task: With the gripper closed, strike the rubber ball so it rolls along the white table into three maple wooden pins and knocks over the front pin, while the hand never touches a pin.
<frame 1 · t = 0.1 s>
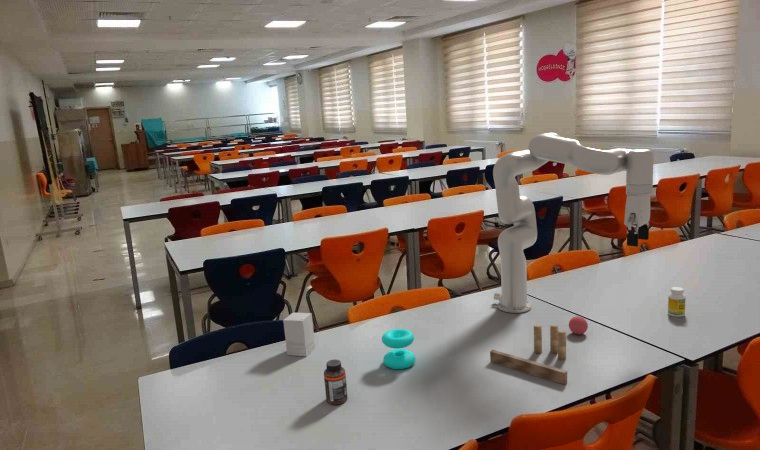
hand: (637, 242, 174), 31 cm above the table, tool pointing down, fingers open, 9 cm apart
left back pin: (537, 351, 172), on the table
front pin: (554, 351, 172), on the table
ball: (578, 325, 183), on the table
right back pin: (561, 358, 167), on the table
supplement bottle: (676, 314, 194), on the table
supplement bottle 2: (337, 400, 151), on the table
supplement box: (301, 352, 185), on the table
donuts: (399, 364, 171), on the table
back wall: (526, 371, 160), on the table
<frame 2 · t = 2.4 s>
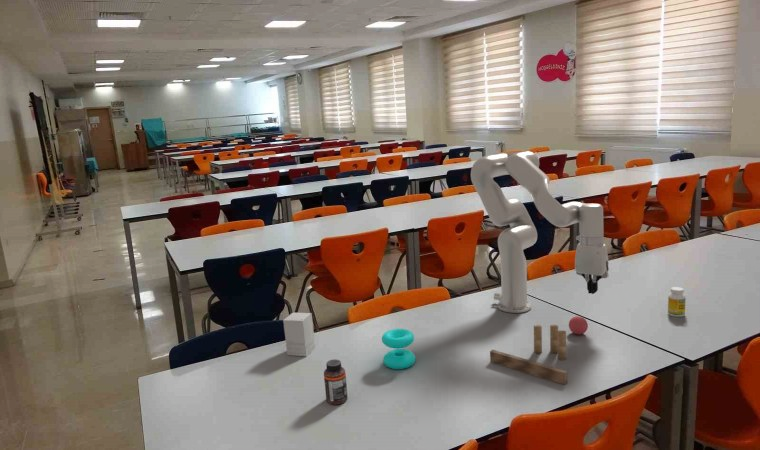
hand: (592, 292, 187), 12 cm above the table, tool pointing down, fingers closed
nothing on the table moved.
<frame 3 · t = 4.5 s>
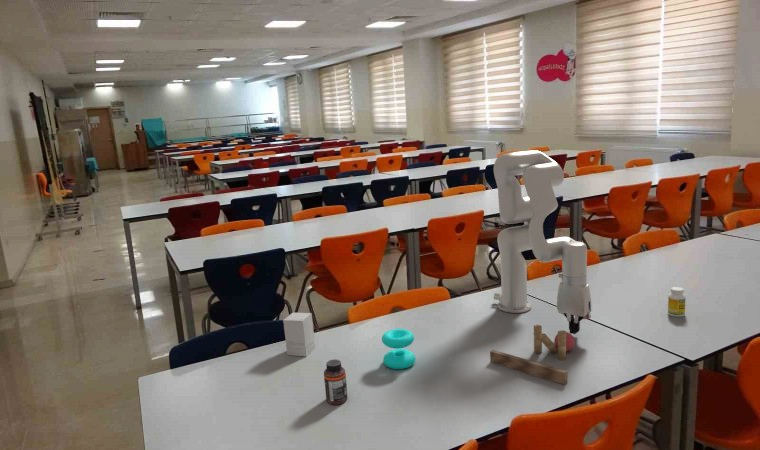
hand: (574, 332, 181), 2 cm above the table, tool pointing down, fingers closed
front pin: (553, 349, 171), point 1 cm above the table, tilted 44°
ball: (564, 341, 171), on the table
everything else where it was.
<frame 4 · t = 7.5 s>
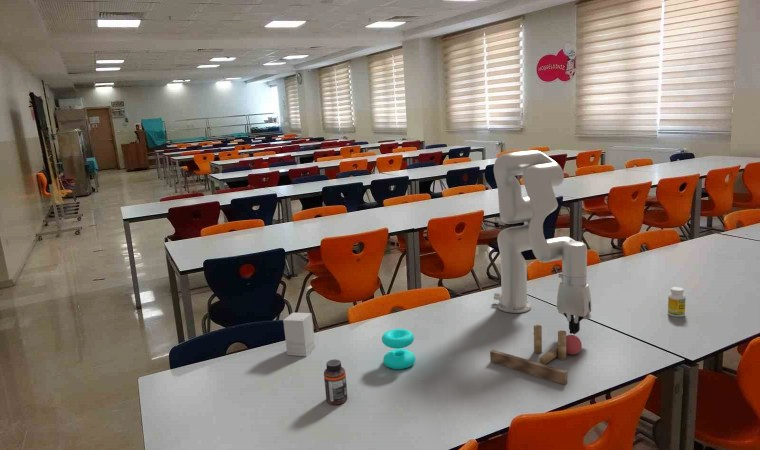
hand: (574, 332, 181), 2 cm above the table, tool pointing down, fingers closed
front pin: (557, 351, 169), point 1 cm above the table, tilted 90°
ball: (571, 344, 169), on the table
everything else where it was.
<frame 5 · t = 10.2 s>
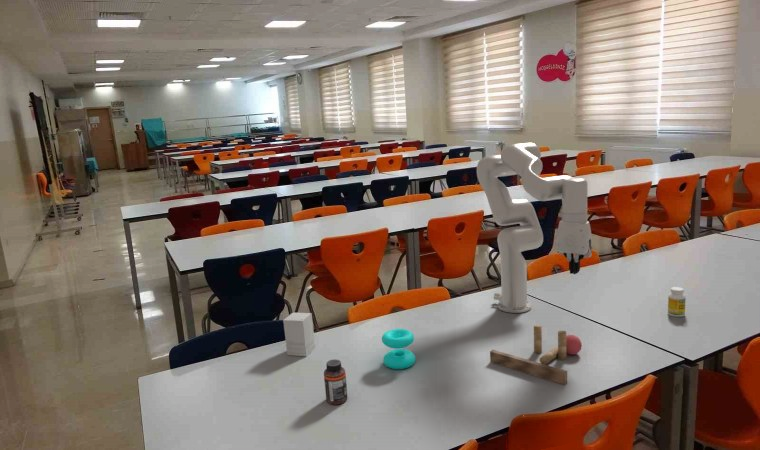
hand: (574, 272, 177), 22 cm above the table, tool pointing down, fingers closed
nothing on the table moved.
at the end: front pin tilted 90°; front pin never touched the robot; ball moved 16.2 cm from its start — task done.
